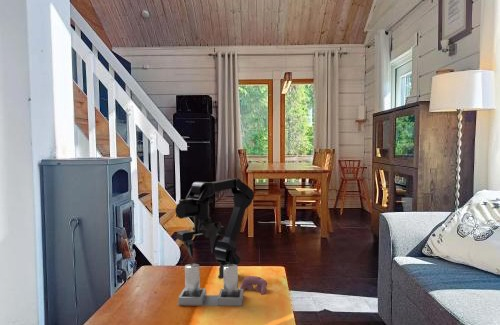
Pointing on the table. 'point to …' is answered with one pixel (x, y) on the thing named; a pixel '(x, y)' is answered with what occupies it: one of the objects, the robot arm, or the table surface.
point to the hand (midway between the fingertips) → (202, 254)
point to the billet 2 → (230, 280)
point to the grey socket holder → (211, 299)
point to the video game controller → (254, 280)
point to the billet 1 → (192, 280)
